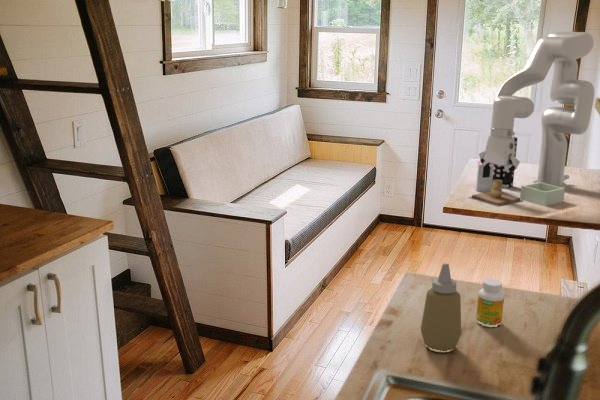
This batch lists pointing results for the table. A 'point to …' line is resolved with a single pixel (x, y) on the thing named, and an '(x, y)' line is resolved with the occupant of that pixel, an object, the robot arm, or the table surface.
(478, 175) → the supplement box
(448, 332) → the squeeze bottle
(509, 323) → the table surface
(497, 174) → the white-spotted black cylinder
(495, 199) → the lid
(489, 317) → the supplement bottle
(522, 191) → the green open box
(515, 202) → the mat
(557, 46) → the robot arm
